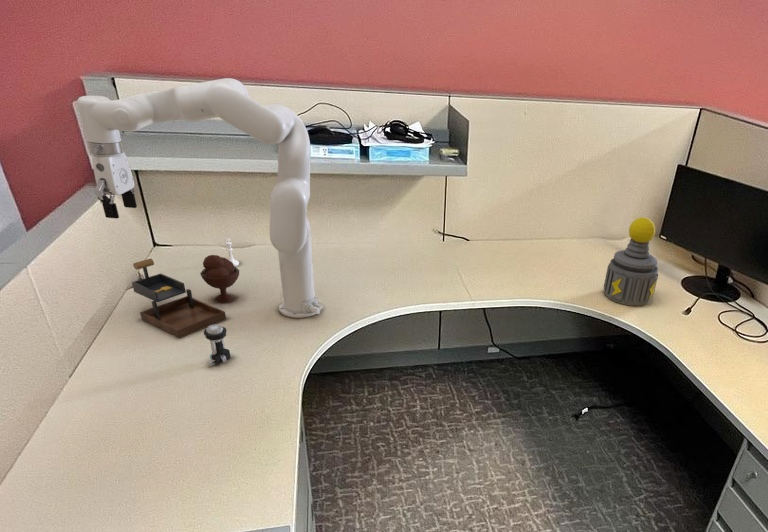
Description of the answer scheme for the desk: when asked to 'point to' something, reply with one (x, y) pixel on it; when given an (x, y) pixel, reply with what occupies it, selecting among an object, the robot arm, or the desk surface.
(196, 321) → the tray
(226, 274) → the ice cream bowl
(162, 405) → the desk surface
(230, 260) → the chess piece
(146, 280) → the scoop
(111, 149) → the robot arm
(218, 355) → the push button
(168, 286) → the key
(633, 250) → the decorative lamp
